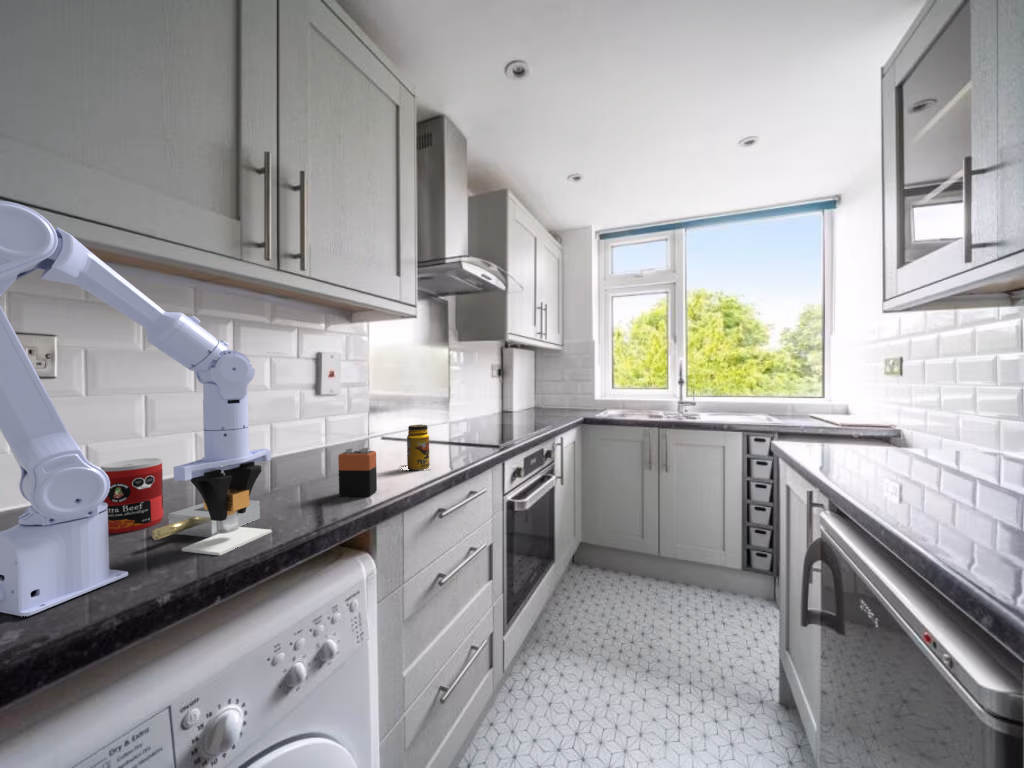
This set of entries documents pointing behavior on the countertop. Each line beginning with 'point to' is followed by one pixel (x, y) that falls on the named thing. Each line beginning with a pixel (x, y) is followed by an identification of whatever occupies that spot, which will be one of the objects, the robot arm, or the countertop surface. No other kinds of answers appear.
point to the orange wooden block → (232, 510)
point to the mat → (226, 541)
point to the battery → (357, 473)
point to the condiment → (417, 448)
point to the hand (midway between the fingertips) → (228, 516)
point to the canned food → (134, 494)
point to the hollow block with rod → (201, 521)
